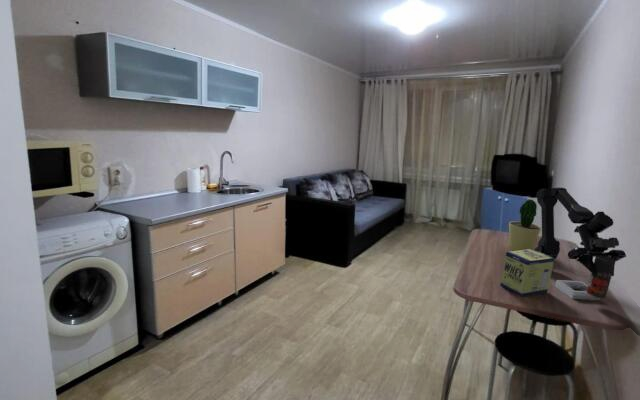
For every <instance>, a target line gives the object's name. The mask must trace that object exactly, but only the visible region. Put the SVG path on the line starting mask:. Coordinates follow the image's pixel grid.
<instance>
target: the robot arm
mask: <svg viewBox="0 0 640 400" xmlns="http://www.w3.org/2000/svg"><path fill="white" fill-rule="evenodd" d="M535 196H536V199H537V201H536V203H537V204H538V206H540V208H541V210H540V211H541V237H540V238H539V241H538V242H537V246H536V247H534V248H533V250H536V251H538V252H541V253H543V254H546V255H548V256H551V257H553V258H555V259H554V260H556V259H557V257H558V256H559V254H560V252H561V251H560V250H561V248H560V241H559V240H557V239H556V238H555V211H554V210H555V209H554V207H555V206H556V204H557V203H558V202H560V204H561V205H562V206H563V208H564V209H565V210H566V211H567V217H568V219H569V220H570V222H571V223H573V224H575V225H577V224H580V225H577V226H576V227H575V229H574V230H573V231H574V233H578V234H579V237H580V240H581V242H579V244H580V246H582V247H578V246H576V247H574V248H572V249H570V250H569V251H568V252H567V257H568V259H569V260H576V262H579V264H581V265H583V267H585V268H586V269H587V270H588V271H589V272H590V274H591V273H592V274H593V275H597V271H596V268H595V266H594V259H593V258H594V257H596V256H597V255H601V256H606V257H610V258H613V259H615V260H616V262H618V261H620V260H622V259H624V258H627V255H626V252H625V251H624V250H622V249H616V247H619V245H620V242H619V241H620V240H619V239H618V237H608V238H603V237H599V234H601V233H603V232H604V231H605V230H607V229H609V228H611V227H612V226H613V225H614V219H613V218H612V217H611V216H609V215H608V214H606V213H605V212H604V211H597V212H596V213H594V212H593V211H592V210H590V209H589V208H587V207H585V206H582V205H581V204H579V202H577V200H575V199H574V197H573V196H572V195H571V194H570V193H569V192H568V190H567V189H566V188H565V187H557V186H555V187H552V188H540V189H539V190H537V192H536V195H535ZM609 249H611V250H610V251H608V250H609ZM606 251H607V252H606ZM615 265H616V264H615ZM615 265H614V267H615ZM613 276H615V268H614V269H613V273H612V276H611V277H613Z"/></svg>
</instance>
